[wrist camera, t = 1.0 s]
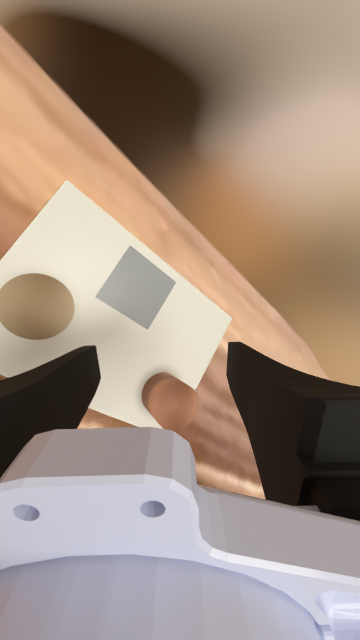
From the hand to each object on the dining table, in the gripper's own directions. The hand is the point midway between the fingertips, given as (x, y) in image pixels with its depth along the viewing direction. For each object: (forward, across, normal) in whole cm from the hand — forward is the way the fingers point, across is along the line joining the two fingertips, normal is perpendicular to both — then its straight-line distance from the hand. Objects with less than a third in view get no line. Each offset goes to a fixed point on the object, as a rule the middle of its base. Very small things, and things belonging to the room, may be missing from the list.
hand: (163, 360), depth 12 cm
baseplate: (+10, +5, +2) cm, 11 cm away
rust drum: (+9, +1, +9) cm, 13 cm away
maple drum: (+7, +10, -1) cm, 13 cm away
